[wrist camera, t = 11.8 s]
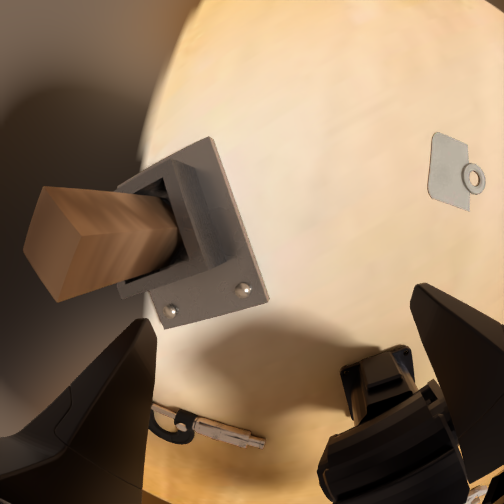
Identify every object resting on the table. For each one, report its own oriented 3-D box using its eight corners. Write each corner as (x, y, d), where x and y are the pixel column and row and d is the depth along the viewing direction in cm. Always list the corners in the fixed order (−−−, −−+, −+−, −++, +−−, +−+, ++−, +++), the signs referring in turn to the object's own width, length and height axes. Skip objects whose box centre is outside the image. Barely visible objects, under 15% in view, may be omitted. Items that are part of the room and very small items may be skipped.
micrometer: (144, 427, 28) (134, 438, 26) (141, 388, 27) (130, 399, 25) (256, 467, 26) (251, 481, 23) (268, 431, 24) (264, 447, 22)
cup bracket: (269, 298, 22) (257, 319, 17) (169, 325, 25) (140, 346, 20) (213, 139, 22) (188, 121, 17) (123, 187, 24) (88, 182, 19)
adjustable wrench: (374, 502, 23) (374, 510, 21) (404, 479, 22) (406, 488, 20) (467, 504, 19) (469, 510, 17) (492, 482, 18) (495, 488, 16)
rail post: (198, 226, 22) (81, 236, 10) (173, 264, 23) (57, 302, 11) (164, 197, 22) (43, 186, 10) (141, 235, 23) (22, 250, 11)
